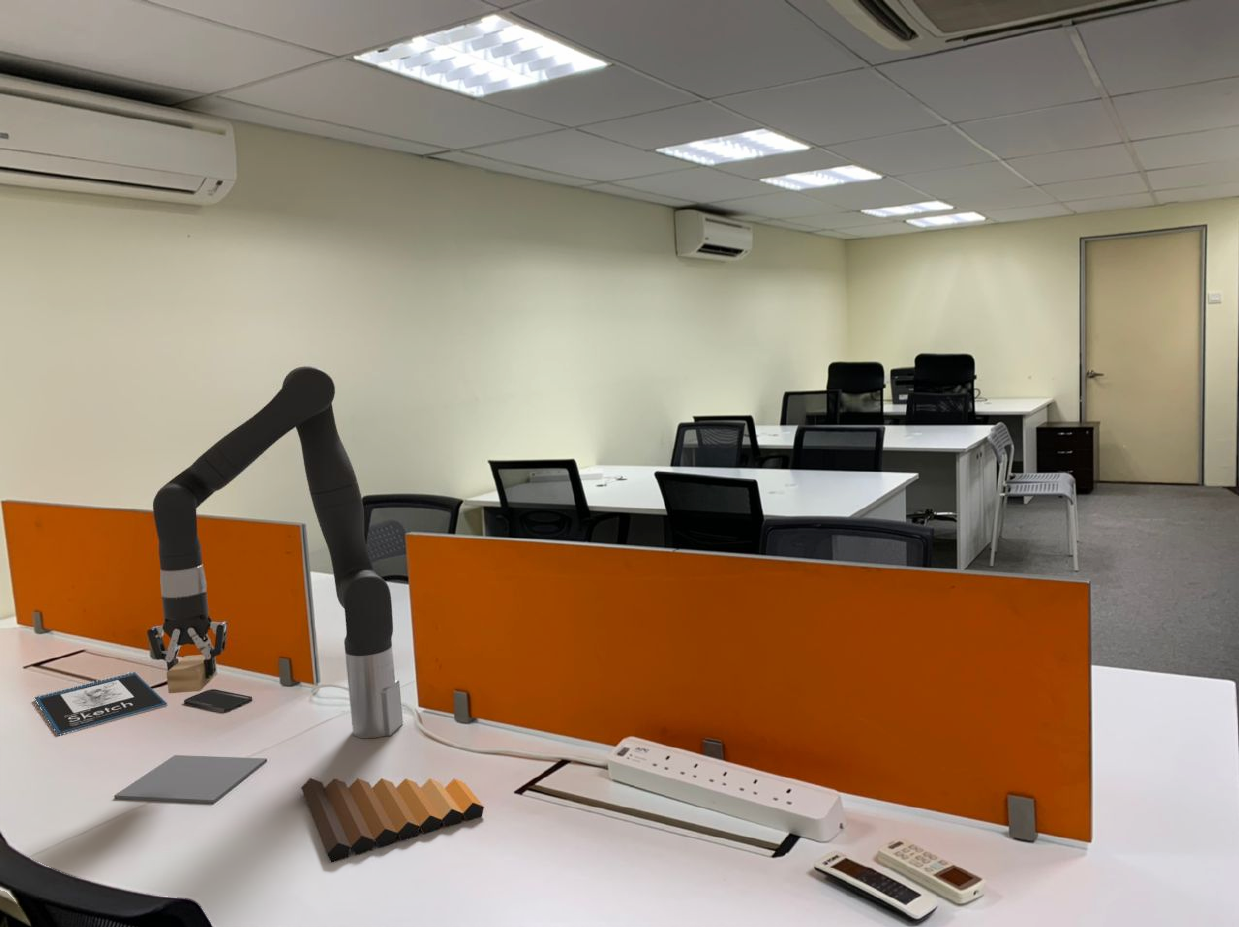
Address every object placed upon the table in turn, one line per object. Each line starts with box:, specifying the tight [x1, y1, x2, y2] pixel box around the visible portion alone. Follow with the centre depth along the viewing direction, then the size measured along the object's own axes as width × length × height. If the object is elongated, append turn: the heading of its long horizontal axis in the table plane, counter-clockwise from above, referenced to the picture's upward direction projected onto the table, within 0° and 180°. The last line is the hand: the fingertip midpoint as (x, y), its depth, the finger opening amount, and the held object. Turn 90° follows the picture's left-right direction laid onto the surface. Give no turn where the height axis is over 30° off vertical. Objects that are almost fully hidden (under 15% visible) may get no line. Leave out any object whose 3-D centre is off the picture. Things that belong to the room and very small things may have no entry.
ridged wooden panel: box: [300, 777, 485, 864], centre depth 150 cm, size 25×3×25 cm
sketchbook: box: [34, 671, 168, 736], centre depth 206 cm, size 22×30×2 cm
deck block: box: [166, 654, 218, 694], centre depth 166 cm, size 9×6×4 cm, turn 6°
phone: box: [183, 688, 253, 713], centre depth 202 cm, size 8×1×15 cm
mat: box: [113, 754, 268, 804], centre depth 164 cm, size 20×16×1 cm
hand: (192, 677), depth 166 cm, fingers closed on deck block, 5 cm apart
